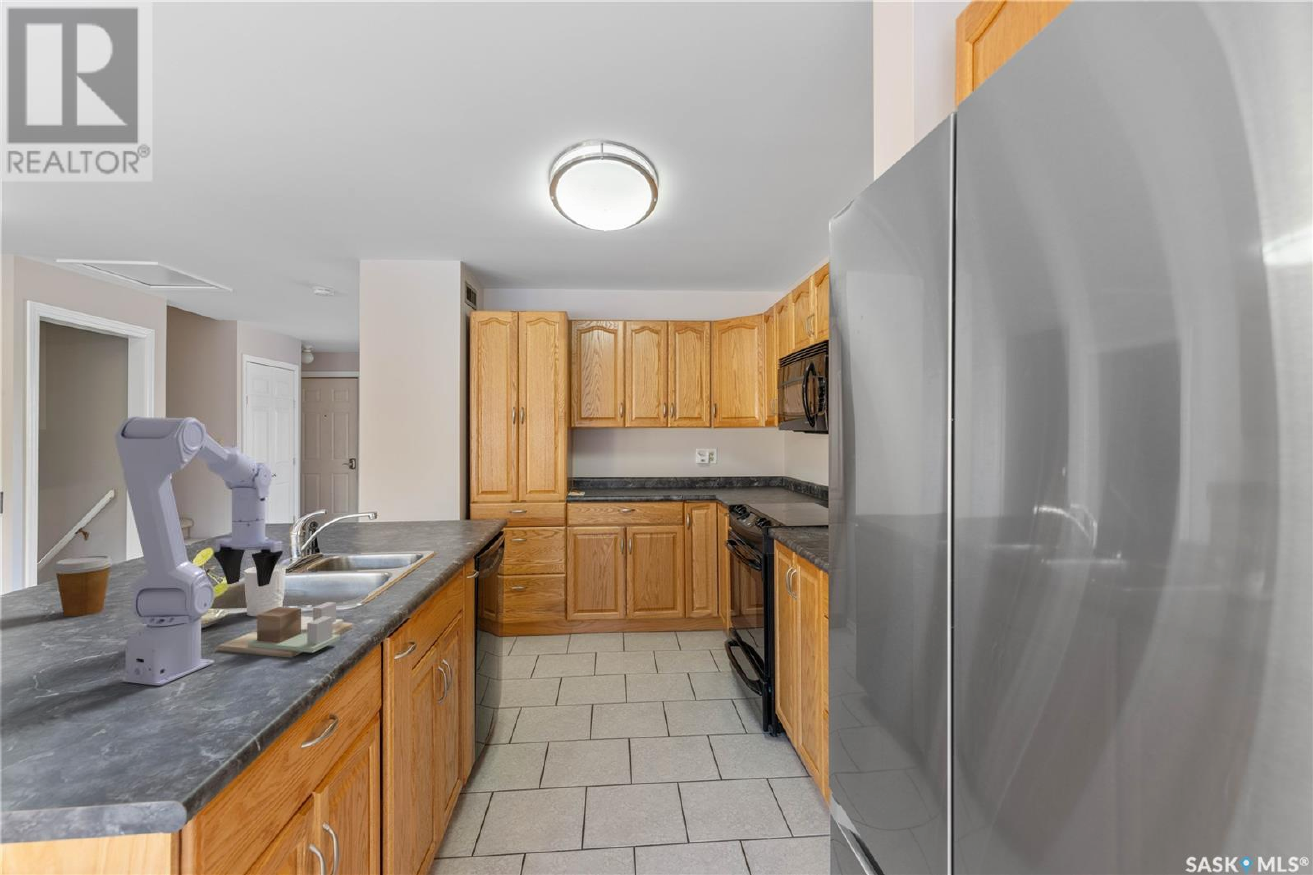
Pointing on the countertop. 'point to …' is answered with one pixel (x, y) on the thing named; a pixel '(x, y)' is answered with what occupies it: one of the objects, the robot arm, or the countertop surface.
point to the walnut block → (278, 624)
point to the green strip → (305, 638)
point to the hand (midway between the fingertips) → (248, 584)
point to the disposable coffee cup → (82, 584)
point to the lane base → (242, 647)
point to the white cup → (264, 591)
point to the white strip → (308, 619)
